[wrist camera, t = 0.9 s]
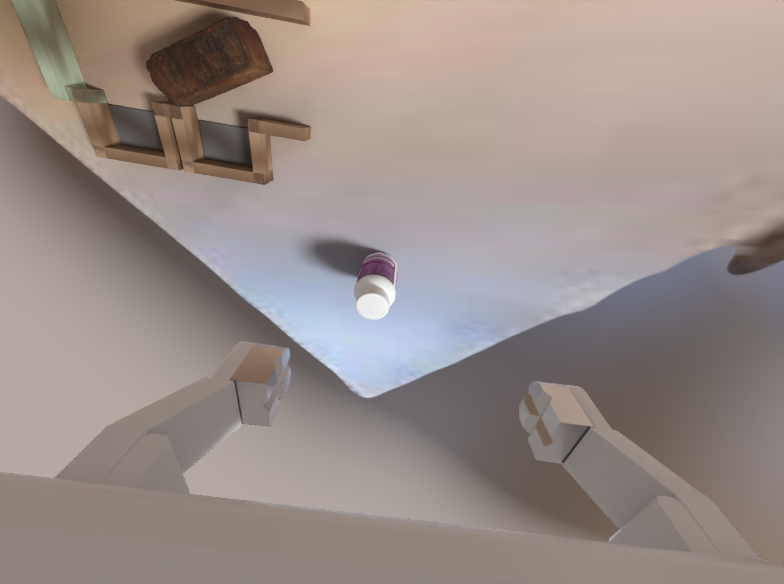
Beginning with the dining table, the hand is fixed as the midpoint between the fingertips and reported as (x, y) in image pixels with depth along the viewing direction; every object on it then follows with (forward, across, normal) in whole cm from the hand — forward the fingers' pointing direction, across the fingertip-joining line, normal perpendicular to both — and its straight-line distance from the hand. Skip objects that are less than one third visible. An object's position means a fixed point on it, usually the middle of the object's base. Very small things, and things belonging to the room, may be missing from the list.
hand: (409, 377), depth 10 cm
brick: (+30, +21, -10) cm, 38 cm away
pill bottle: (+32, +2, +11) cm, 33 cm away
